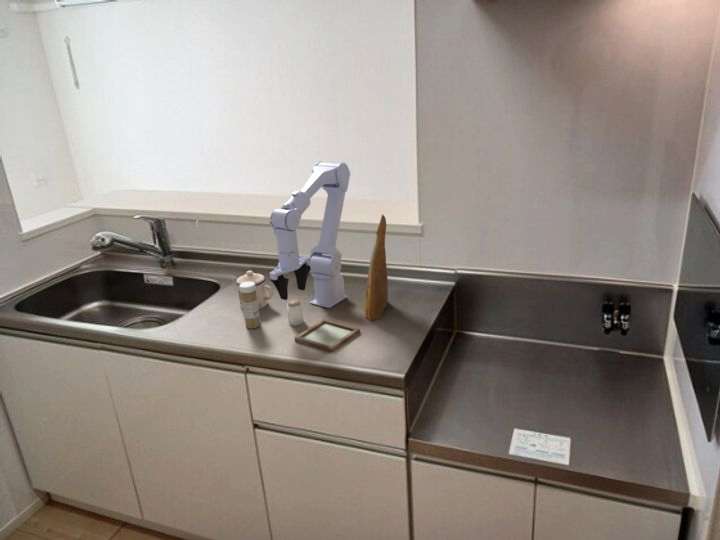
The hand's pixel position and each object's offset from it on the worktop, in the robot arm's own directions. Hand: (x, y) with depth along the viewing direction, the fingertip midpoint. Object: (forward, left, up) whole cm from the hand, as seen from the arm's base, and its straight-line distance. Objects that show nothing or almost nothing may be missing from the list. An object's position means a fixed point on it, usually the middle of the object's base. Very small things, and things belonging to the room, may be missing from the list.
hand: (293, 294), depth 166 cm
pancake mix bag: (-19, +17, -9) cm, 27 cm away
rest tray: (+2, +14, -9) cm, 17 cm away
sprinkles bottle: (+8, -10, -9) cm, 16 cm away
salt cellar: (0, 0, -9) cm, 9 cm away
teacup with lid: (-3, -19, -9) cm, 21 cm away
